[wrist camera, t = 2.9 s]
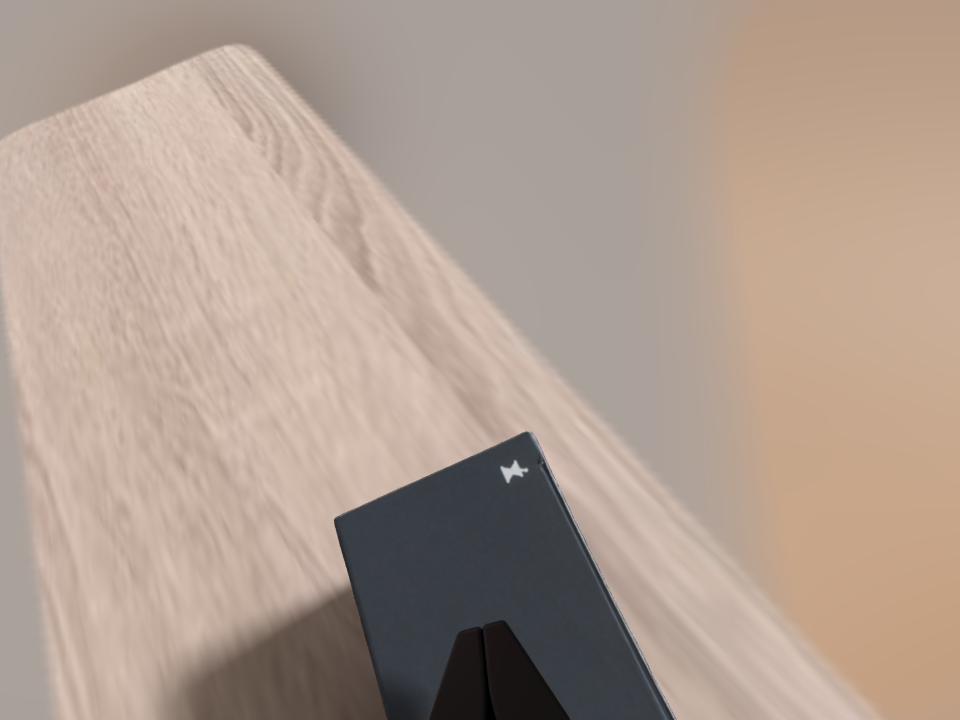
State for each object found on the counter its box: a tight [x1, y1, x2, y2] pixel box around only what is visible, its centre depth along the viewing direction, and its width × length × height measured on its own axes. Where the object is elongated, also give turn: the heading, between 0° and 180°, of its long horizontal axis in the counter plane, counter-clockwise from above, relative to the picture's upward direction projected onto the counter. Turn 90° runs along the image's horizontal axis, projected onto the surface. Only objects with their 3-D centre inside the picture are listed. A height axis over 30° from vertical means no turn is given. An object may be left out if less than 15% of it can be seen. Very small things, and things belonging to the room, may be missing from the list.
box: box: [334, 431, 676, 720], centre depth 15 cm, size 8×6×11 cm
